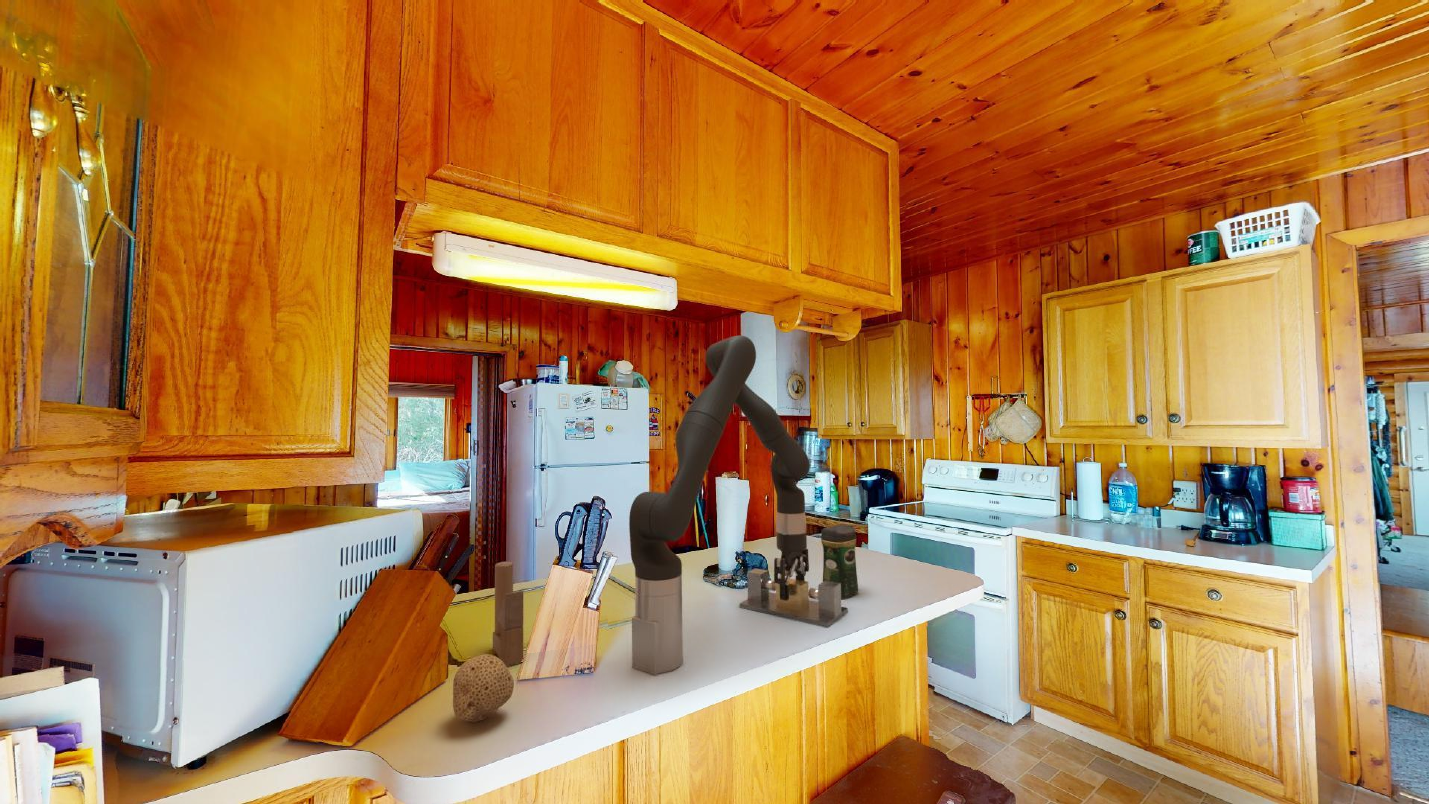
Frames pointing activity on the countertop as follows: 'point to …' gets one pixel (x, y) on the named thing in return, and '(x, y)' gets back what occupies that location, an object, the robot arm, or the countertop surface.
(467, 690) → the natural sponge
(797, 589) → the block
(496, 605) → the wooden block
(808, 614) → the stand
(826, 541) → the coffee jar
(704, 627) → the countertop surface
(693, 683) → the countertop surface
